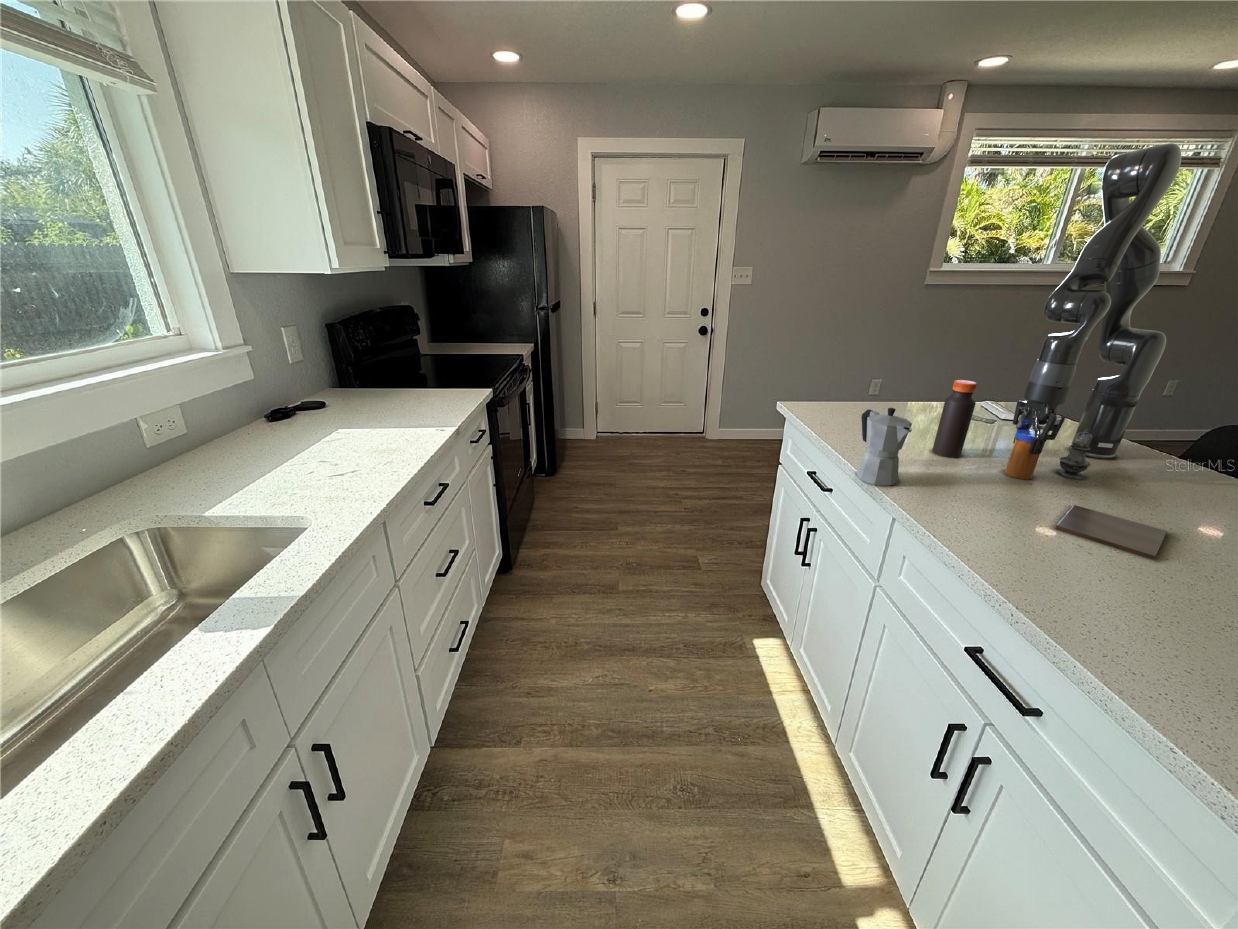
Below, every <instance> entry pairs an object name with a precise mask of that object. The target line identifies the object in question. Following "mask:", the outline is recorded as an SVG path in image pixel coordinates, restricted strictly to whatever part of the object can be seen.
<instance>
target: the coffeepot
mask: <svg viewBox="0 0 1238 929" xmlns="http://www.w3.org/2000/svg"><path fill="white" fill-rule="evenodd" d="M896 411H897V409H896V408H894V407H888V408H887V414H880V412H878V411H876V410H875V411H874V410H872V409H871V408H870V409H866V410H865V411H864V412H862V413H861V419H860V420H861V435H862V442H864V443H866V445H867V450H866V451H864V453H863V456H862V459H861V461H860V464H859V465H858V468H857V470H856V472H855V473H856V476H857V478H858V479H859V480H860V481H862V482H864V483H867V484H871V485H874V486H881V487H889V486H893V485H896V483H898V482H899V467H900V464H899V462H900V458H899V452H900V450H902V449H903V446H904V444H905V442H906V439H907V437H908V435H909V433H912V431H913V429H912V425H913V423H912V422H911V421H910V420H909V419H907V418H905V417H901V416H897V415H895V412H896Z"/></svg>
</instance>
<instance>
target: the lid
mask: <svg viewBox="0 0 1238 929" xmlns="http://www.w3.org/2000/svg"><path fill="white" fill-rule="evenodd" d="M1016 432H1017V433H1016ZM1016 432H1015V434H1014V438H1015V437H1016V438H1017V439H1019V440H1022V441H1025V442H1030V443H1032V441H1033V439H1035V438H1034V434H1035V430H1034V429H1029V430H1017V429H1016ZM1041 433H1042V431H1040V434H1041ZM1047 441H1048V440H1046V441H1045V443H1047Z"/></svg>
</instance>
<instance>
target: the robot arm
mask: <svg viewBox="0 0 1238 929" xmlns="http://www.w3.org/2000/svg"><path fill="white" fill-rule="evenodd" d="M1181 164H1182V149H1181V147H1180V145H1178V144H1177V143H1174V142H1170V143H1163V144H1158V145H1153V146H1148V147H1145V148H1141V149H1136V150H1133V151H1132V150H1131V151H1127V152H1123V153H1119V154H1117V155H1114V156H1112V157H1111V158H1110V159H1109V160H1108V161H1107V163H1106V165H1105V166H1104V169H1103V172H1102V176H1101V198H1102V199H1101V201H1102V211H1103V220H1104V226H1103V227H1101V228H1100V229H1099V230H1098V231H1096V233H1095V234H1094V235H1092V236H1091V238H1090V239H1088V241H1087V243H1086V244H1085V245H1084V246H1083V249H1082V250H1081V252H1080V255H1078V256H1079V257H1078V259H1077V261H1076V263H1075V265H1074V267H1073V268H1072V270H1071V272H1070V273H1069V274H1068V275H1067V276H1066V277H1065V279H1064V280H1063V281H1062V282H1061V283H1060V285H1059V286H1057V287H1056V289H1055V290H1054V291H1053V292H1052V293H1051V294H1050V296H1048V298H1047V299H1046V301H1045V303H1044V305H1043V307H1042V308H1043V309H1042V314H1043V317H1044V318H1045V319H1046V321H1048V322H1052V323H1059V324H1060V323H1062V324H1075V325H1078V326H1077V327H1076V329H1075V330H1073V331H1070V332H1061V333H1051V334H1048V335H1047V336H1045V337H1044V339H1043V342H1042V344H1041V346H1040V347H1041V348H1040V350H1039V353H1038V356H1037V360H1036V362H1035V363H1034V366H1033V367H1032V370H1031V373H1030V376H1029V379H1028V382H1027V385H1026V388H1025V391H1024V394H1023V399H1024V400H1018V401H1017V402H1016V405H1015V410H1014V414H1013V418H1012V425H1013V426H1014V425H1015V429H1016V432H1015V434H1016V433H1017V430H1031V428H1032V430H1033V431H1035V434H1034V438H1035V439H1033V441H1032V444H1031V447H1030V450H1029V453H1030V454H1036V455H1039V454H1040V455H1041V453H1042V452H1043V450H1044V447H1045V444H1046V442H1047V441H1054V440H1055V439H1056V438H1057V436H1058V435H1059V433H1060V430H1061V428H1062V426H1063V424H1064V422H1065V420H1066V417H1065V416H1064V415H1059V414H1057V408H1058V406H1060V405H1063V404H1064V403H1065V402H1066V400H1067V397H1068V394H1069V391H1070V389H1071V386H1072V383H1073V380H1074V378H1075V375H1076V370H1077V365H1078V363H1079V360H1080V357H1081V354H1082V352H1083V349H1084V347H1085V345H1086V343H1087V341H1088V339H1089V337H1090V335H1091V334H1092V333H1093V331H1094V330H1095V328H1096V327H1097V326H1098V325H1099V323H1100V322H1101V327H1100V333H1099V340H1098V346H1097V347H1098V348H1097V349H1098V357H1099V358H1100V360H1101V361H1102V362H1104V363H1107V364H1111V365H1117V366H1121V367H1122V366H1123V367H1124V368H1123V370H1122V372H1121V373H1120V374H1118V375H1114V376H1106V377H1100V378H1097V379H1096V380H1095V381H1094V383H1093V386H1092V389H1091V392H1090V394H1089V396H1088V400H1087V402H1086V404H1085V407H1084V410H1083V412H1082V415H1081V418H1080V420H1079V423H1078V425H1077V429H1076V431H1075V434H1074V436H1073V439H1072V441H1071V444H1070V445H1069V450H1071V445H1072V444H1073V443H1074V441H1075V438H1076V435H1077V434H1078V433H1080V432H1085V430H1086V429H1088V433H1090V434H1091V435H1092V440H1091V442H1090V445H1089V448H1090V449H1089V450H1088V451H1087V454H1086V457H1089V458H1095V459H1103V460H1104V459H1106V460H1107V459H1108V460H1109V459H1114V458H1116V456H1117V452H1118V449H1119V447H1120V444H1121V443H1122V440H1123V438H1124V435H1125V433H1126V430H1127V428H1128V426H1129V423H1130V421H1131V419H1132V416H1133V414H1134V412H1135V409H1136V407H1137V404H1138V402H1139V399H1140V397H1141V395H1142V393H1143V391H1144V389H1145V387H1146V386H1147V385H1148V384H1149V382H1150V380H1151V378H1152V376H1153V374H1154V372H1155V370H1156V367H1157V366H1158V364H1159V362H1160V360H1161V358H1162V356H1163V354H1164V351H1165V348H1166V345H1167V336H1166V334H1165V333H1164V332H1162V331H1159V330H1154V329H1142V328H1134V327H1131V316H1132V312H1133V309H1134V308H1135V306H1136V305H1137V304H1138V303H1139V302H1140V301H1141V299H1142V298H1144V297H1145V295H1147V293H1148V292H1149V291H1150V290H1151V289H1152V288H1153V286H1154V285H1155V284H1156V283H1157V280H1158V279H1159V276H1160V272H1161V271H1160V270H1161V257H1162V256H1161V255H1162V249H1161V246H1160V244H1159V242H1158V241H1157V239H1156V238H1155V237H1154V236H1153V235H1152V234H1151V233H1150V232H1149V231H1148V230H1147V229H1146V228H1145V227H1144V226H1143V225H1144V224H1145V223H1146V221H1147V220H1148V219H1149V217H1151V215H1152V214H1153V212H1154V210H1155V209H1156V208H1157V206H1158V205H1159V203H1161V201H1162V199H1163V198H1164V196H1165V195H1166V194H1167V192H1168V190H1169V189H1170V187H1171V186H1172V184H1173V183H1174V181H1175V179H1176V178H1177V175H1178V173H1179V172H1180V168H1181ZM1131 198H1134V199H1133V200H1132V201H1131ZM1099 286H1103V289H1104V290H1101V289H1087V288H1093V287H1099ZM1040 432H1042V433H1041V434H1040ZM1050 432H1051V433H1050ZM1015 439H1016V437H1015V436H1014V438H1013V441H1012V444H1014V442H1015ZM1046 440H1047V441H1046ZM1045 441H1046V442H1045Z"/></svg>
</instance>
